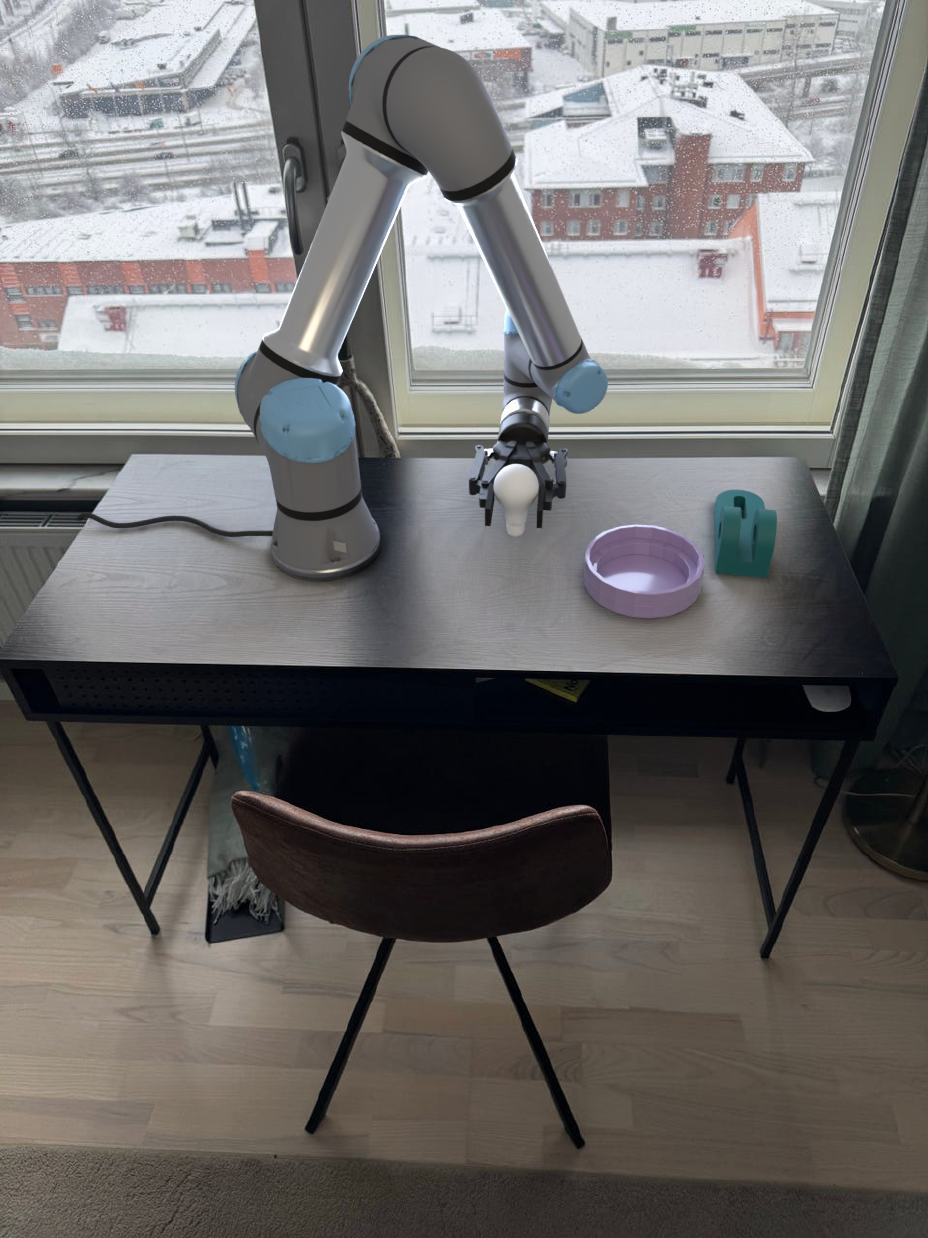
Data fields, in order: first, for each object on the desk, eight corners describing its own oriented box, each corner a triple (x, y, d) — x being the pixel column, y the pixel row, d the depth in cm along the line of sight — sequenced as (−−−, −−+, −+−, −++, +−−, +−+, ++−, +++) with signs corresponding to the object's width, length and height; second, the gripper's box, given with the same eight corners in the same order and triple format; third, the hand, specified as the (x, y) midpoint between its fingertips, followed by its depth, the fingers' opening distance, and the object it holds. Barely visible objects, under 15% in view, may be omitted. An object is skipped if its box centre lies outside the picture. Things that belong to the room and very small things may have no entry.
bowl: (566, 603, 121) (568, 575, 118) (606, 541, 132) (608, 514, 129) (681, 634, 116) (685, 606, 113) (712, 567, 126) (717, 540, 123)
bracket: (767, 577, 124) (778, 528, 119) (715, 573, 125) (724, 524, 120) (760, 504, 138) (769, 457, 133) (713, 500, 139) (721, 454, 134)
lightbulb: (509, 518, 134) (510, 451, 127) (545, 532, 131) (548, 463, 124) (485, 538, 130) (484, 470, 123) (521, 553, 128) (523, 483, 121)
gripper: (585, 457, 142) (584, 545, 125) (461, 453, 144) (442, 539, 126) (588, 412, 137) (588, 497, 120) (460, 409, 139) (440, 491, 122)
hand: (513, 518), depth 123 cm, fingers closed on lightbulb, 6 cm apart
